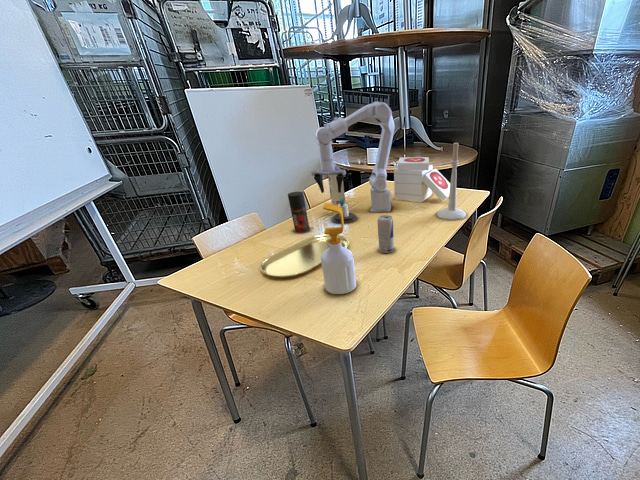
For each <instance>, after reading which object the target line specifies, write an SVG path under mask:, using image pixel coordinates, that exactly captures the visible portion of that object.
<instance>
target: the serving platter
mask: <svg viewBox="0 0 640 480" xmlns="http://www.w3.org/2000/svg"><path fill="white" fill-rule="evenodd" d="M337 238H340V239H341V245H342V247H345V248H347V249H348V248H349V246H350V241H349V239H348V238H347V237H346V236H343V235H340V234H339V235H338V236H337ZM329 239H331V236H329V234H327V235H326V234H319V235H313V236H311V237H308V238H305V239H303V240H301V241H299V242H297V243H295V244H292V245H291V246H289V247H287V248H284V249H283V250H281V251H278V252H276V253H274V254H273V255H269V257H266V258H265V259H264V260H263V261H262V262H261V263H260V265H259V268H260V271H261V272H262V273H263V274H264V275H266V276H268V277H270V278H275V279H276V278H277V279H288V278H294V277H298V276H301V275H305V274H307V273H309V272H311V271H312V270H314V269H316V268H318V267H319V266H322V263H321V255H322V254H323V252H324V251H325V250H327V249H328V248H330V247H329Z"/></svg>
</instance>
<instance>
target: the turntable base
mask: <svg viewBox="0 0 640 480" xmlns="http://www.w3.org/2000/svg"><path fill="white" fill-rule="evenodd" d="M353 214H354V218H353V219H350V220H344V225H347V224H351V223H354V222H356V221H357V220H358V216H357V215H356V214H355V213H353ZM331 222H332V223H335V224H339V225H341V221H340V220H336V219H334V215H332V217H331Z"/></svg>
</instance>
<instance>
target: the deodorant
mask: <svg viewBox="0 0 640 480" xmlns="http://www.w3.org/2000/svg"><path fill="white" fill-rule="evenodd" d="M287 198H288V204H289V207H290V214H291V217H292V218H291V219H292V222H293V228H294V232H295V233H296V234H304V233H305V234H306V233H307V232H310V230H311V227H310V223H309V218H308V211H307V207H306V201H305V195H304V192H303V191H292V192H289V193H288V194H287Z"/></svg>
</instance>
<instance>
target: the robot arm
mask: <svg viewBox="0 0 640 480" xmlns="http://www.w3.org/2000/svg"><path fill="white" fill-rule="evenodd" d="M367 118H369V119H373V120H375V121H377V123H378V124H379V126H380V128H381V133H380V138H379V144H378V148H377V154H376V159H375V164H374V167H373V168H372V173H371V174H370V176H369V178H368V183H369V185H370V186H371V187H370V199H371V200H370V202H371V204H370V205H371V207H370V210H369V212H373V213H374V212H377V213H380V212H381V213H382V212H384V213H385V212H386V213H387V212H391V210H392V207H393V203H392V191H391V189H390V190H389V189H387V187H388V181H387V177H388V174H387V167H388V163H389V158H390V153H391V149H392V143H393V138H394V133H395V128H396V124H395V121H394V118H393V111H392V109H391V108H390V106H389V105H388V103H386V102H384V101H377V100H375V101H373V102H372V103H368V104H366V105H364V106H362V107H360V108H359V109H357V110H356V111H354V112H352V113H351V114H350V115H348V116H346V117H342V116H339V117H338V116H334V118H333V120H332V121H330V122H329V123H324V124H323V126H321V127H319V128H317V129H316V131H315V138H316V140H317V146H318V155H319V162H320V169H312V170H310V172H311V176H312V177H313V176H314V177H313V179H314V180H315V182H316V183H317V185H318V187H319V190H320V192H321V194H323V193H325V188H324V187H325V186H324V179H323V176H328V175H337V176H336V179H337V184H338V192H339V193H340V192H341V185H342V181H343V182H344V177H345V176H346V175H347V172H346V169H341V168H340V169H341V170H340V169H335V165H334V162H335V158H334V151H333V146H332V140H333V139H336V138H338V137H339V136H341V135H343V134H345V133H347V132H348V129H349V127H350V126H352V125H354V124H356V123H358V122H361V121H362V120H364V119H367ZM332 173H333V174H332Z"/></svg>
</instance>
